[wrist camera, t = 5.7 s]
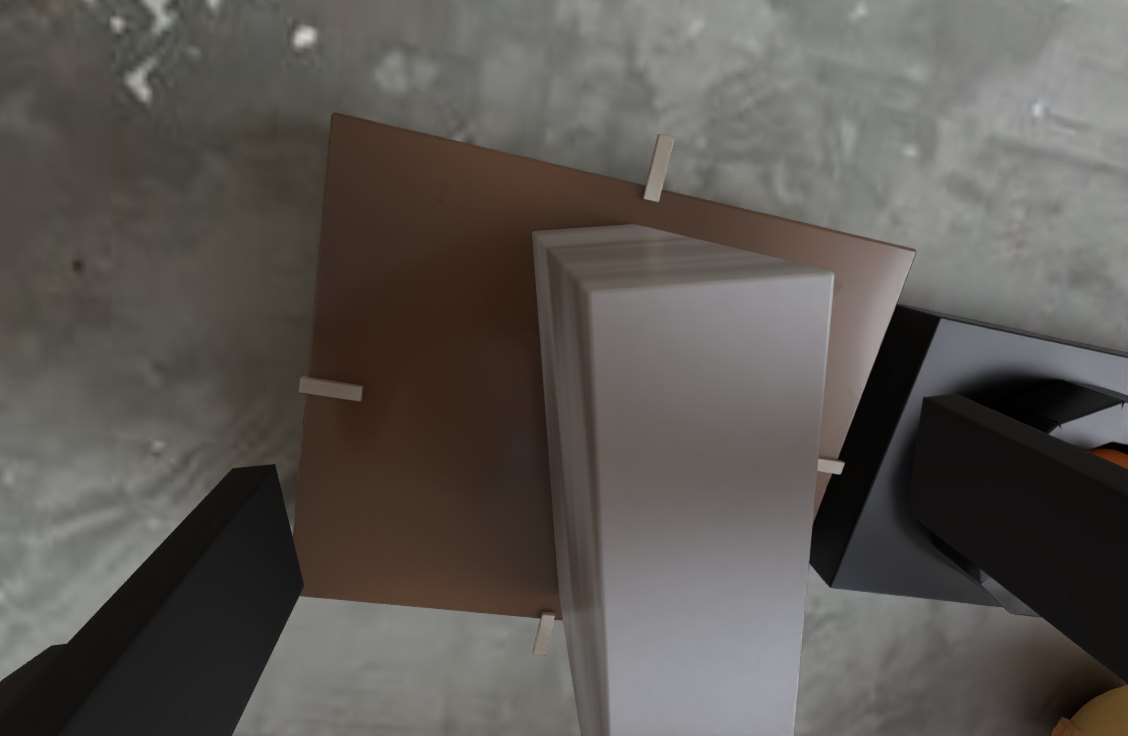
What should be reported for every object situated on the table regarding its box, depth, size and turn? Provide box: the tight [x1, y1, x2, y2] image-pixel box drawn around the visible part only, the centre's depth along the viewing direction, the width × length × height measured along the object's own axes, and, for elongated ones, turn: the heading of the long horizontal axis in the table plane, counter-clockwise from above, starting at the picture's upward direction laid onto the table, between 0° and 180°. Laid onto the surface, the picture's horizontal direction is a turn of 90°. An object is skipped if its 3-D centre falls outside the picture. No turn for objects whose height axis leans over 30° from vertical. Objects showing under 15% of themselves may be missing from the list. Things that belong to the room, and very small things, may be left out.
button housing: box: [809, 303, 1128, 617], centre depth 18 cm, size 11×9×4 cm
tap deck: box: [293, 113, 916, 656], centre depth 16 cm, size 14×14×3 cm
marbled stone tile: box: [532, 224, 835, 736], centre depth 10 cm, size 10×2×8 cm, turn 3°
